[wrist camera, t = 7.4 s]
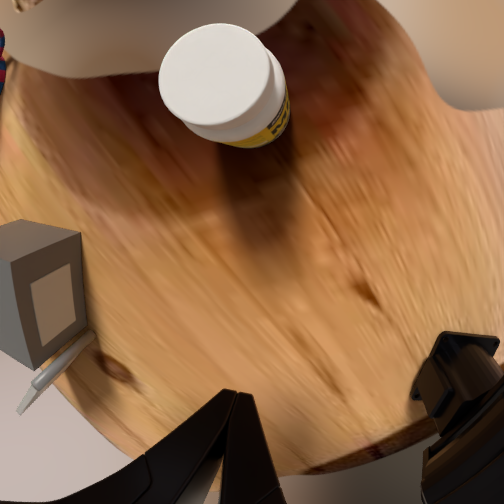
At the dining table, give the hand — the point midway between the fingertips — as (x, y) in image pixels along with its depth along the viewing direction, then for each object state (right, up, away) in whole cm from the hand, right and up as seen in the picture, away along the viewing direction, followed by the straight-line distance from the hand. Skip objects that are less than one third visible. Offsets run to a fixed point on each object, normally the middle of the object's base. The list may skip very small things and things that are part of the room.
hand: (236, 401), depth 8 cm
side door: (-16, -5, +17) cm, 24 cm away
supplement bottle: (0, +13, +9) cm, 16 cm away
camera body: (-17, +3, +15) cm, 23 cm away
